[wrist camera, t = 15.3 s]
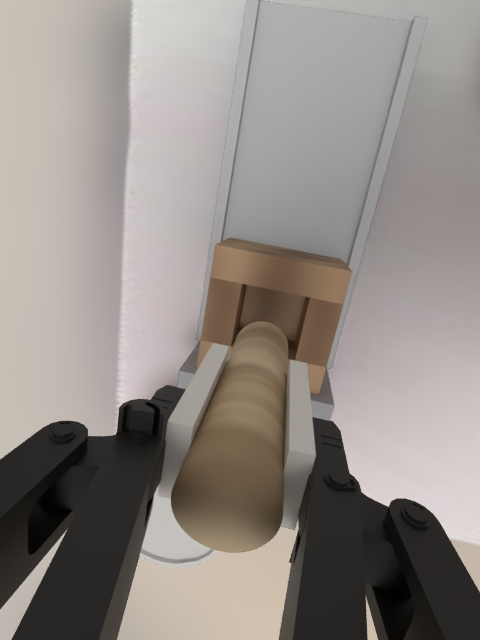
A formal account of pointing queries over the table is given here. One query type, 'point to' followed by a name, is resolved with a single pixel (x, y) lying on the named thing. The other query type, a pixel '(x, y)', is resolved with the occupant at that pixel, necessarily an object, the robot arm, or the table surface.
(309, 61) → the track
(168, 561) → the disposable coffee cup
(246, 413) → the dowel
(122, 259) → the table surface
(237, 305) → the block
